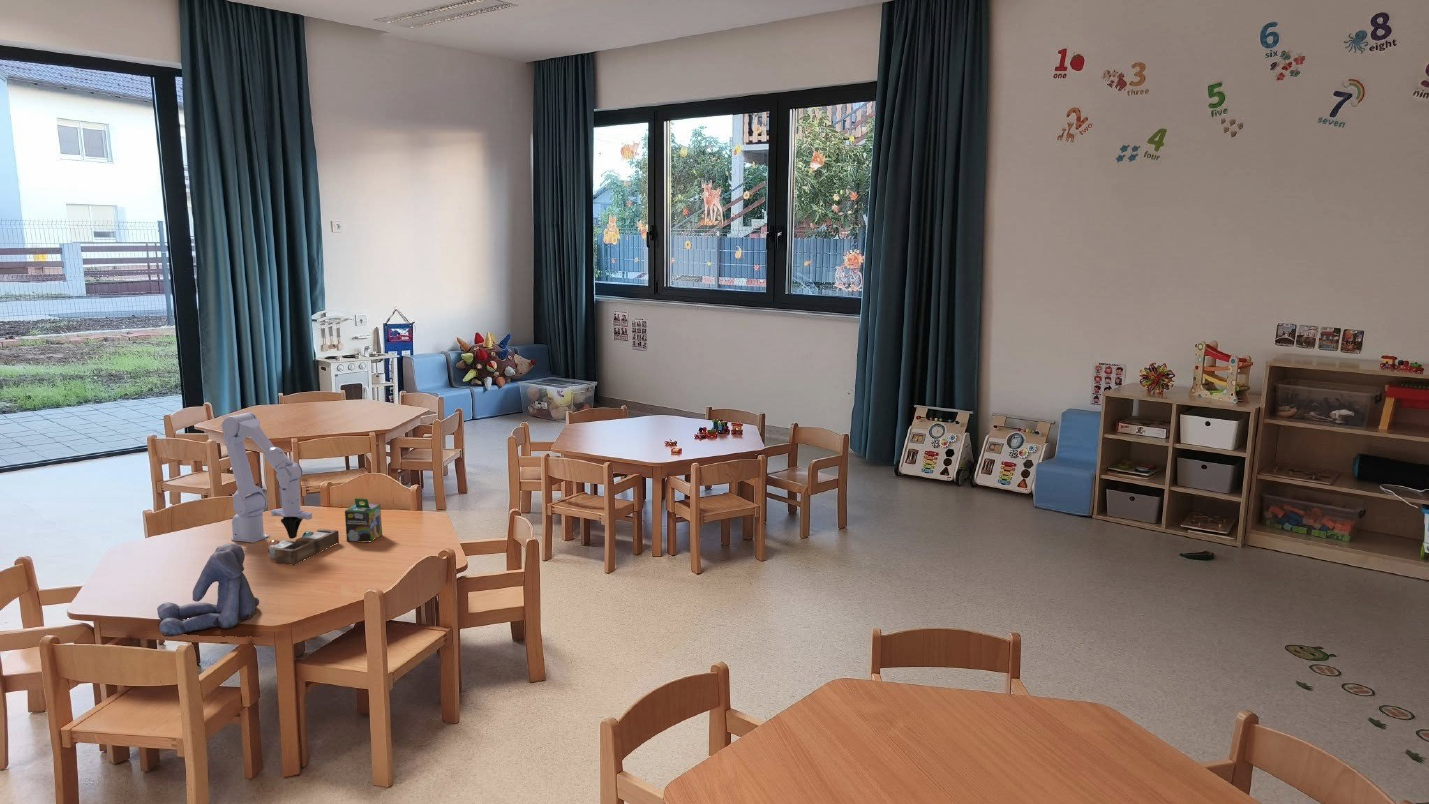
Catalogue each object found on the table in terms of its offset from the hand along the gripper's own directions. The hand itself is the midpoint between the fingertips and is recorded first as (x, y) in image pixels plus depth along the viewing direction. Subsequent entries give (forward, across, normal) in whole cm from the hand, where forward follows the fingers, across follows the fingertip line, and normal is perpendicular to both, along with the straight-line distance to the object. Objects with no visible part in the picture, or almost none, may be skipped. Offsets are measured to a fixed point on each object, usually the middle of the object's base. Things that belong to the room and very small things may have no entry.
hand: (292, 537), depth 316 cm
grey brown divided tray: (+2, +10, -6) cm, 12 cm away
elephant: (+3, +20, -60) cm, 64 cm away
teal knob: (+2, +9, 0) cm, 9 cm away
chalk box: (+3, +19, +13) cm, 23 cm away
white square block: (+2, +4, -11) cm, 12 cm away
